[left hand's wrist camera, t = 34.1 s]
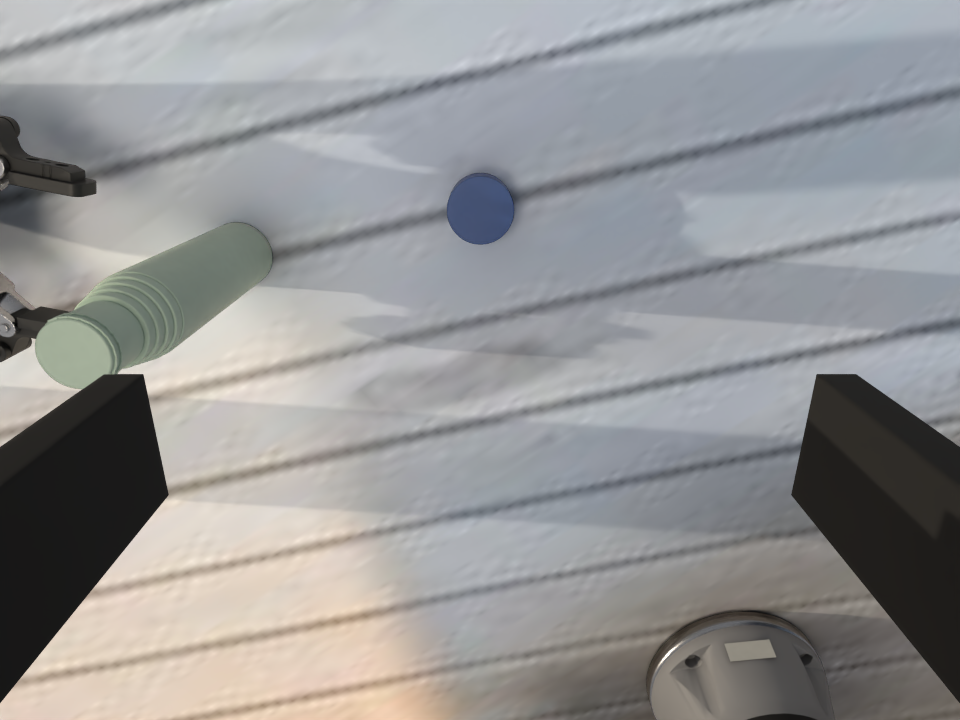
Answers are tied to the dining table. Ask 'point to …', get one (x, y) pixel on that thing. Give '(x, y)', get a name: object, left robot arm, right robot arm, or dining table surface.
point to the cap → (480, 208)
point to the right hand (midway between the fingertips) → (90, 261)
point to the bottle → (153, 305)
